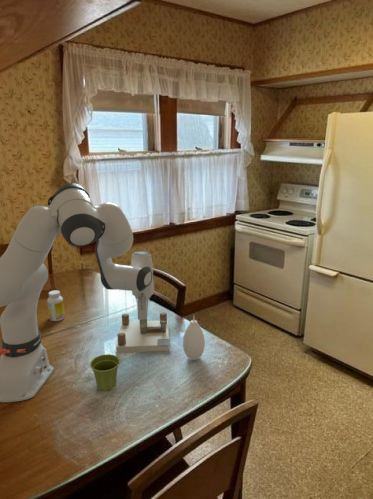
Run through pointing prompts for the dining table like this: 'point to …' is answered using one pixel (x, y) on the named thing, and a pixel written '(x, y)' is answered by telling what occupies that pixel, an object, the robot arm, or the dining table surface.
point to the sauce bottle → (193, 340)
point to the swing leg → (152, 329)
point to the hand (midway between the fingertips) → (144, 319)
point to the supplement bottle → (55, 306)
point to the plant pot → (105, 371)
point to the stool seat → (142, 336)
